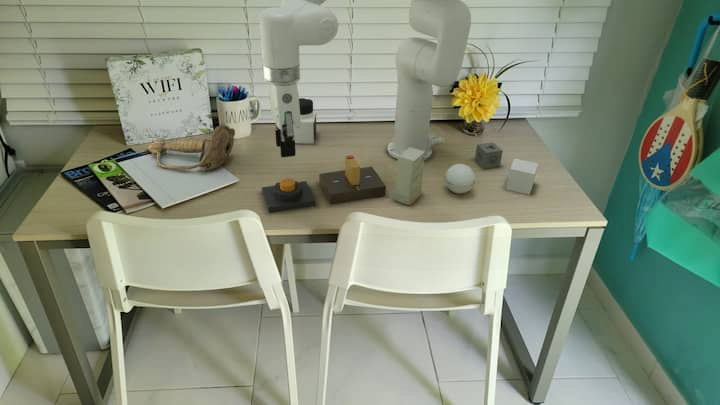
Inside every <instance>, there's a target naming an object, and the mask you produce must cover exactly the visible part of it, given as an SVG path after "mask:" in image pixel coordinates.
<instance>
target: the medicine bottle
mask: <svg viewBox="0 0 720 405" xmlns="http://www.w3.org/2000/svg"><path fill="white" fill-rule="evenodd" d="M299 107H300V119H301V127H300V128H298V127H297V128H296V126H295V125H294V123H293V126H294V137H295V144H300V145H301V144H303V145H304V144H305V145H314V144H315V143H316V138H317V112H316V111H314V101H313V100H312V99H311V98H309V97H305V96H304V97H303V96H301V97H299Z"/></svg>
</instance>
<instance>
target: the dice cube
mask: <svg viewBox="0 0 720 405" xmlns="http://www.w3.org/2000/svg"><path fill="white" fill-rule="evenodd" d="M502 156H503V149H502V148H501V147H500V146H499V145H497V144H496V143H495V142H493V141H492V142H484V143H477V144H476V149H475V155H474V162H475V163H476V164H477V165H478V166H479V167H480V168H481V169H482V170H486V169H494V168H500V166H501V161H502Z"/></svg>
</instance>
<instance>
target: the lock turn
mask: <svg viewBox="0 0 720 405" xmlns="http://www.w3.org/2000/svg"><path fill="white" fill-rule="evenodd" d="M344 165H345V166H344V170H345V175H346V177H347V179H348V180H349V182H350V183H351V185H352V186H353V185H359V184H360V168H361V166H360V164H359V163H358V161H357V160H356V158H355V157H354V155H347V156H344Z"/></svg>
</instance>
